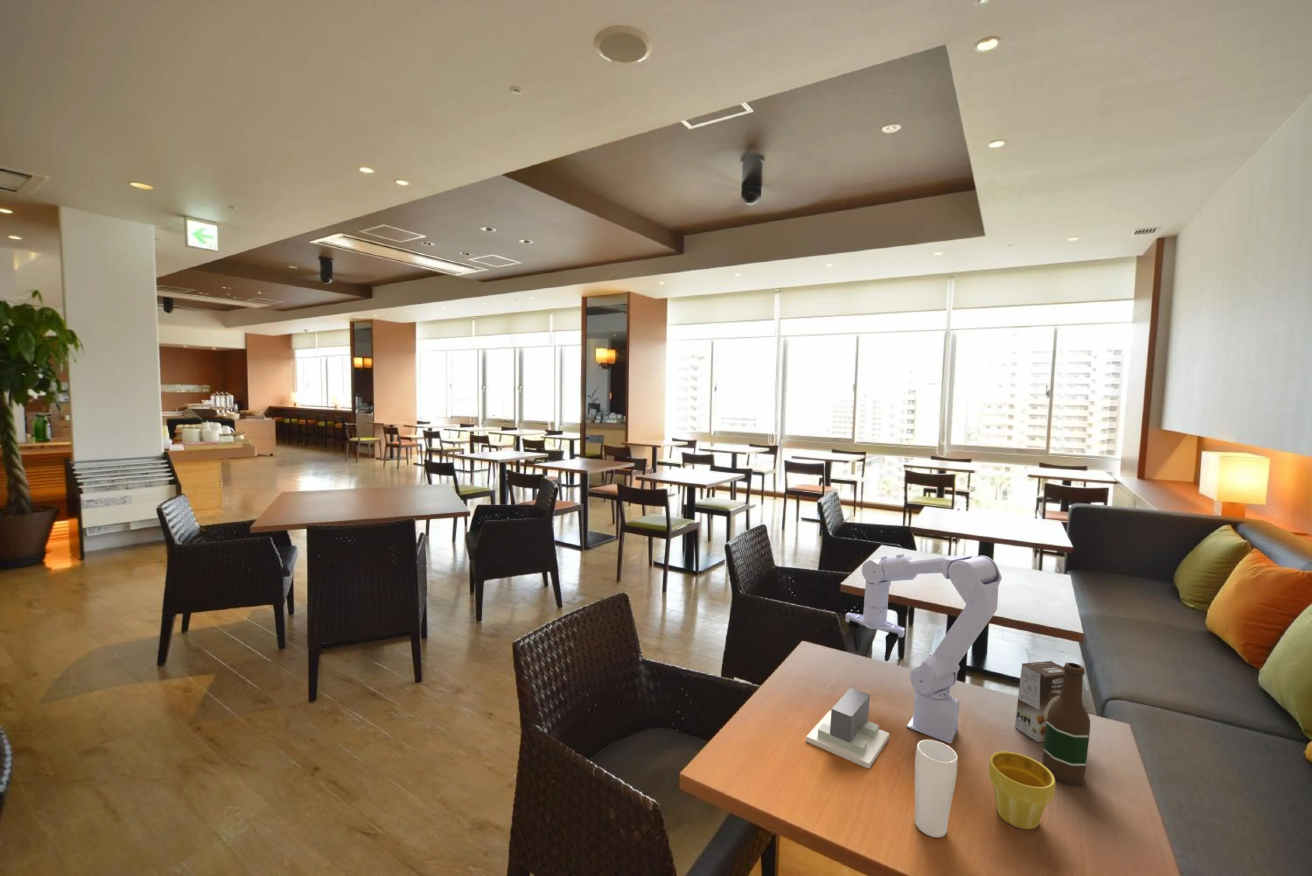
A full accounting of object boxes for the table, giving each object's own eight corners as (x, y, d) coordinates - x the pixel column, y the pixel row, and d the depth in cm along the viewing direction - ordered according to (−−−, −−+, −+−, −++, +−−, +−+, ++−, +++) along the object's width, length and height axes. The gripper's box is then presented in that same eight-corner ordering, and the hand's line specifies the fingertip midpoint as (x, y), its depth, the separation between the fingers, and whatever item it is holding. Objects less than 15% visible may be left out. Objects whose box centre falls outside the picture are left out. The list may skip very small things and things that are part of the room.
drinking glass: (958, 843, 101) (965, 763, 100) (919, 841, 101) (926, 762, 100) (940, 815, 108) (946, 739, 106) (903, 813, 108) (910, 738, 106)
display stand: (888, 738, 131) (890, 725, 131) (868, 769, 120) (869, 755, 120) (829, 714, 140) (830, 703, 139) (806, 741, 129) (806, 728, 128)
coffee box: (1038, 743, 131) (1045, 676, 130) (1013, 727, 137) (1020, 663, 136) (1068, 738, 134) (1075, 672, 132) (1043, 722, 140) (1050, 659, 138)
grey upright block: (868, 718, 133) (870, 694, 133) (849, 743, 124) (851, 716, 123) (849, 711, 136) (850, 687, 135) (829, 734, 127) (831, 708, 126)
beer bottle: (1077, 767, 123) (1089, 660, 121) (1091, 791, 116) (1104, 678, 114) (1035, 758, 126) (1046, 653, 123) (1047, 781, 118) (1058, 670, 116)
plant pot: (1009, 839, 102) (1014, 788, 102) (973, 797, 113) (978, 750, 112) (1063, 838, 103) (1069, 787, 102) (1023, 797, 113) (1028, 750, 113)
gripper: (842, 601, 150) (839, 651, 151) (900, 617, 141) (896, 669, 142) (852, 594, 155) (848, 642, 156) (908, 609, 146) (904, 659, 147)
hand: (872, 655), depth 149 cm, fingers open, 7 cm apart
